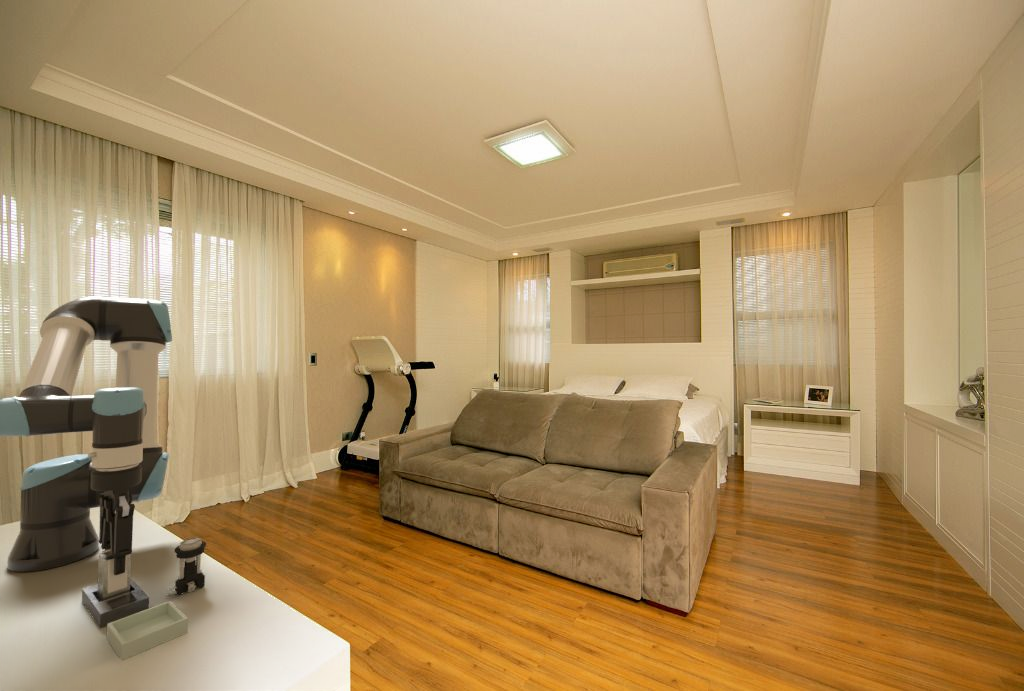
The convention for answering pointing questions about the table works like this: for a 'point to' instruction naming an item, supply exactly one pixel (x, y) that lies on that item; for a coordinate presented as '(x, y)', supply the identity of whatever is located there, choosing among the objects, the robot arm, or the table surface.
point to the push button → (189, 566)
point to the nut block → (103, 578)
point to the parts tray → (146, 629)
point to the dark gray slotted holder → (114, 604)
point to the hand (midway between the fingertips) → (114, 585)
